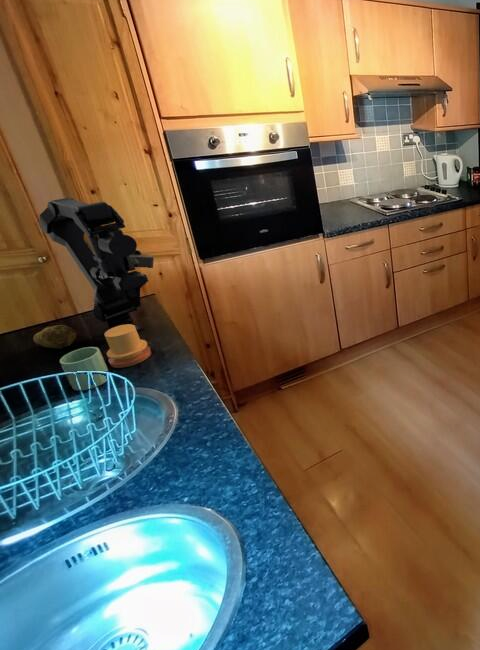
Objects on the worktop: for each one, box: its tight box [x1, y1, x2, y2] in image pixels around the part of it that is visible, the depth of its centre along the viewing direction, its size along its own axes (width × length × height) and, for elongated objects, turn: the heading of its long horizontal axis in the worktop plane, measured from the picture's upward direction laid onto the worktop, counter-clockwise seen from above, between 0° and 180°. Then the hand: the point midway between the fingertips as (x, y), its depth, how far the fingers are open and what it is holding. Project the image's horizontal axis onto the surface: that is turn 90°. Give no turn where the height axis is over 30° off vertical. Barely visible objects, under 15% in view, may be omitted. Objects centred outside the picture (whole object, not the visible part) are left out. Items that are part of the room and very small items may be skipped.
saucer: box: [107, 345, 152, 369], centre depth 123 cm, size 9×9×1 cm
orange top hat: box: [103, 324, 148, 360], centre depth 122 cm, size 9×9×8 cm
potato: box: [32, 324, 77, 350], centre depth 126 cm, size 8×13×8 cm, turn 50°
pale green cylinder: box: [59, 346, 110, 392], centre depth 113 cm, size 7×7×8 cm
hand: (129, 303), depth 125 cm, fingers open, 9 cm apart
